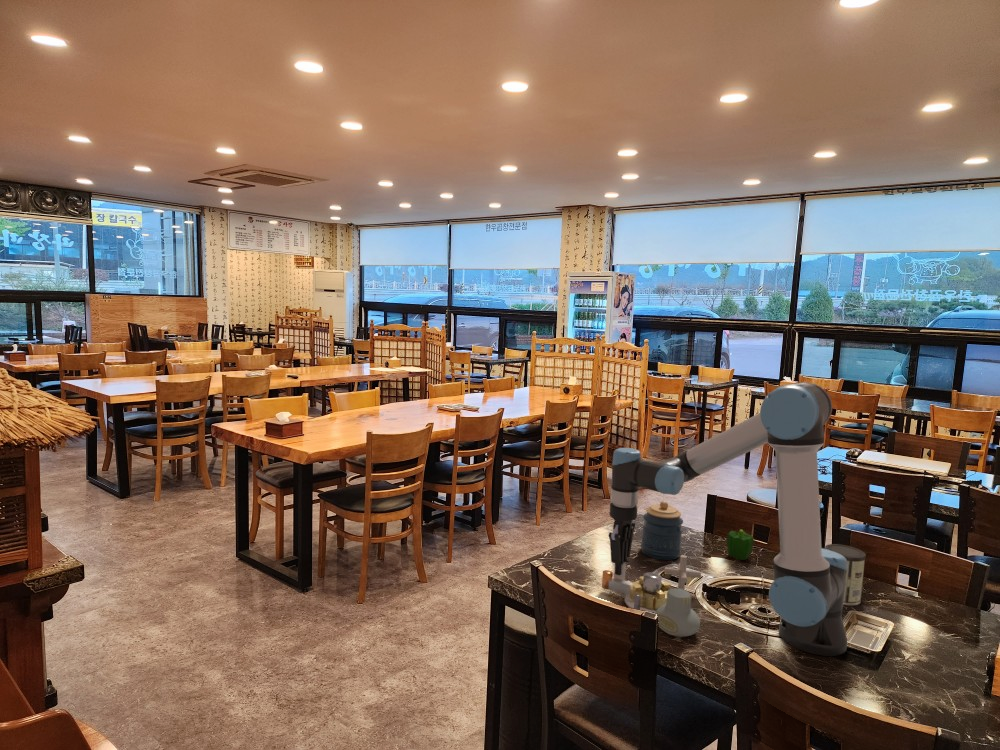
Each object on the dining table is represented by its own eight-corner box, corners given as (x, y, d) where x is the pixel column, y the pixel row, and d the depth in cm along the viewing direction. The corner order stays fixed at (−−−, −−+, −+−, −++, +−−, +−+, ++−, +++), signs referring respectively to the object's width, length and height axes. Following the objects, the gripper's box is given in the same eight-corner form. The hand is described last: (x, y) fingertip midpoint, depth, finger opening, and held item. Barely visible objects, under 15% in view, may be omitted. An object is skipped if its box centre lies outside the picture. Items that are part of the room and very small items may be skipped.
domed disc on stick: (675, 596, 170) (677, 581, 169) (666, 612, 160) (667, 596, 160) (608, 578, 179) (609, 564, 179) (595, 593, 169) (596, 578, 169)
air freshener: (648, 625, 156) (651, 588, 155) (669, 617, 161) (672, 580, 160) (684, 645, 147) (687, 606, 146) (705, 636, 152) (708, 597, 151)
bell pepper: (729, 550, 210) (731, 522, 209) (754, 556, 205) (757, 527, 204) (721, 557, 203) (724, 528, 202) (747, 564, 198) (750, 534, 197)
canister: (685, 561, 198) (689, 508, 196) (645, 559, 198) (649, 506, 197) (674, 546, 211) (678, 496, 209) (636, 544, 211) (640, 494, 210)
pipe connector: (701, 599, 172) (704, 565, 171) (664, 594, 174) (667, 560, 173) (697, 584, 182) (699, 551, 181) (662, 579, 184) (664, 547, 183)
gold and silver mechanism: (688, 609, 166) (690, 580, 165) (632, 628, 154) (635, 598, 153) (648, 588, 178) (650, 561, 177) (594, 605, 166) (596, 576, 165)
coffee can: (825, 586, 185) (830, 540, 183) (864, 598, 178) (869, 551, 176) (815, 596, 177) (820, 549, 176) (855, 609, 170) (860, 560, 169)
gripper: (621, 495, 178) (616, 572, 181) (601, 506, 168) (596, 588, 171) (645, 501, 174) (640, 580, 177) (626, 512, 164) (621, 596, 166)
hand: (619, 584), depth 174 cm, fingers closed
